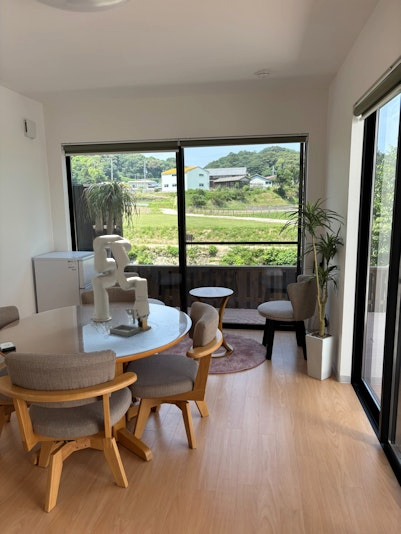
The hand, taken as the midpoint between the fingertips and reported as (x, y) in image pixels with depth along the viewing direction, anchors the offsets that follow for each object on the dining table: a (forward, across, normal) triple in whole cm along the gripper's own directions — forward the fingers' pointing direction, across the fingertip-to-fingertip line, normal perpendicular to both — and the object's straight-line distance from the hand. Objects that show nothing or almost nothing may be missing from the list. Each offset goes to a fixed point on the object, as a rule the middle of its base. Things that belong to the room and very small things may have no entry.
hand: (142, 325), depth 257 cm
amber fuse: (+2, 0, 0) cm, 2 cm away
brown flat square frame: (+2, 0, 0) cm, 2 cm away
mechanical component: (+2, -7, -14) cm, 16 cm away
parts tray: (+2, +11, -5) cm, 12 cm away
